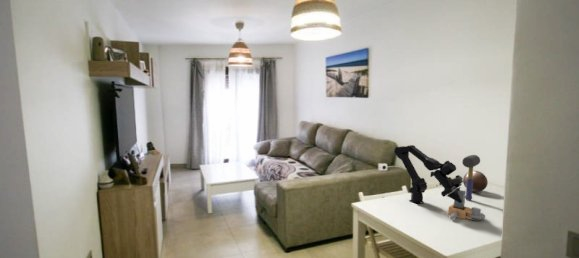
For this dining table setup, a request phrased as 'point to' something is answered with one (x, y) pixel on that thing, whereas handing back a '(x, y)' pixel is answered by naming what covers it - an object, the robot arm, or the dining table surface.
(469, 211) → the bracket head
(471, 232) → the dining table surface
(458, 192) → the dark grey long block
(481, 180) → the wooden sphere
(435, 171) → the robot arm
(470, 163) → the rubber mallet
